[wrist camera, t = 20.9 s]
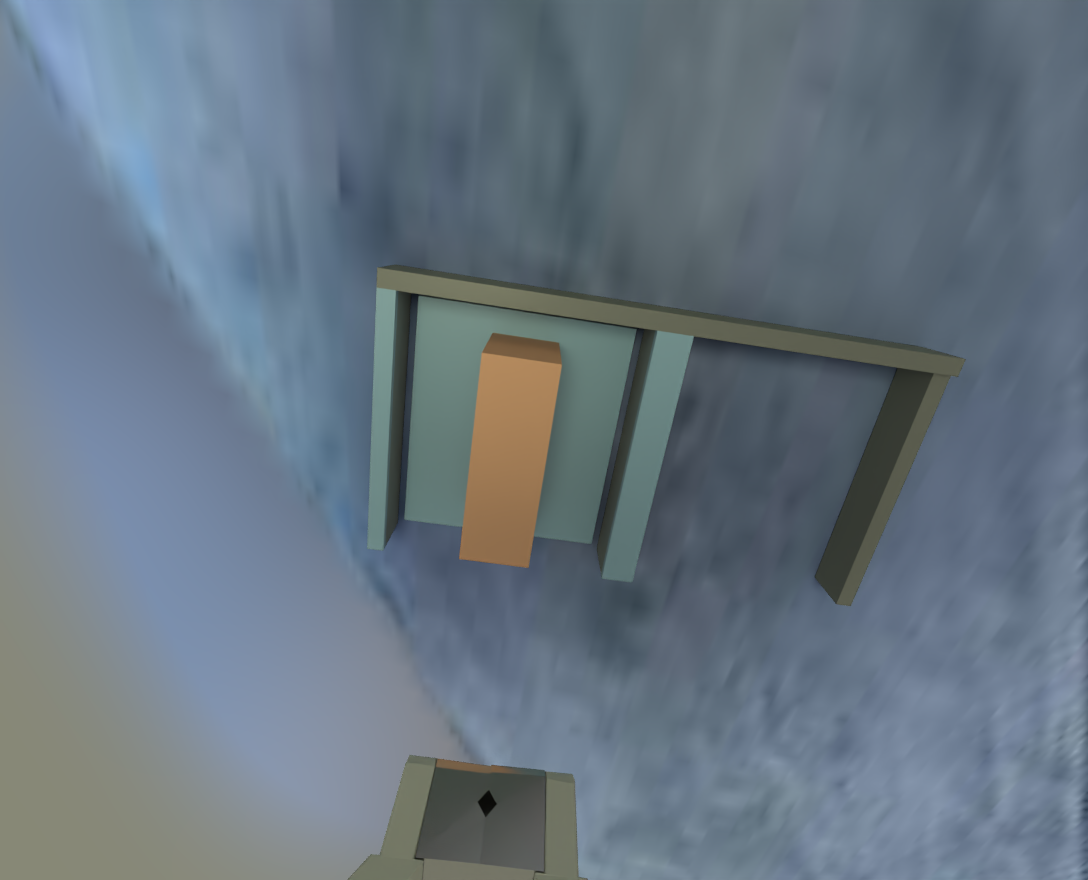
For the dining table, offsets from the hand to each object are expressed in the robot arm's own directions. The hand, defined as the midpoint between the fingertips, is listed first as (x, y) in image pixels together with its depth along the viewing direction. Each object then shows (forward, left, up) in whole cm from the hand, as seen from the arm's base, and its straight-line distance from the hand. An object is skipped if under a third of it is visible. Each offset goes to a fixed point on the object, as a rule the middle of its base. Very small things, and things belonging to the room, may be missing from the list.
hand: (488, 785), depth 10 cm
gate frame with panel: (-7, +2, -25) cm, 26 cm away
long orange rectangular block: (+1, +2, -25) cm, 25 cm away
